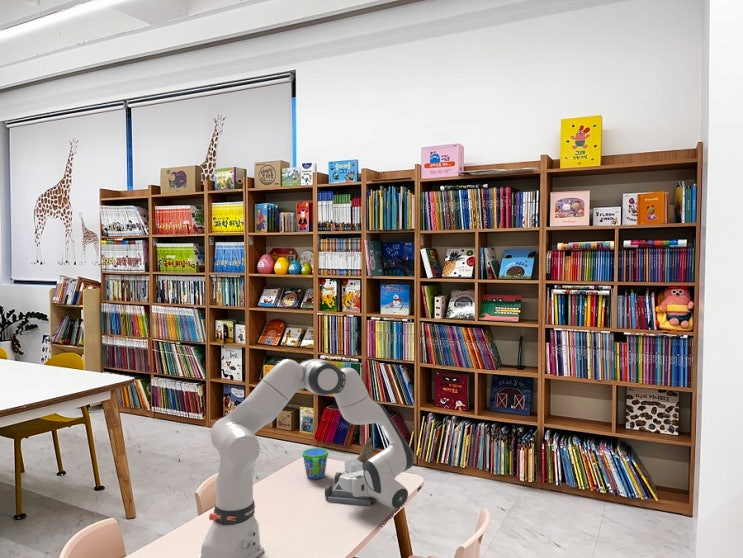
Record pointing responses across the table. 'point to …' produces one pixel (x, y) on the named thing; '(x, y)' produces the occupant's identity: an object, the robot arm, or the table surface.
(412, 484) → the table surface
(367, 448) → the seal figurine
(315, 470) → the snack cup
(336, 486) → the toy truck
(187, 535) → the table surface
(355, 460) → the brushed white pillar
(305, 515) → the table surface
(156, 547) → the table surface
